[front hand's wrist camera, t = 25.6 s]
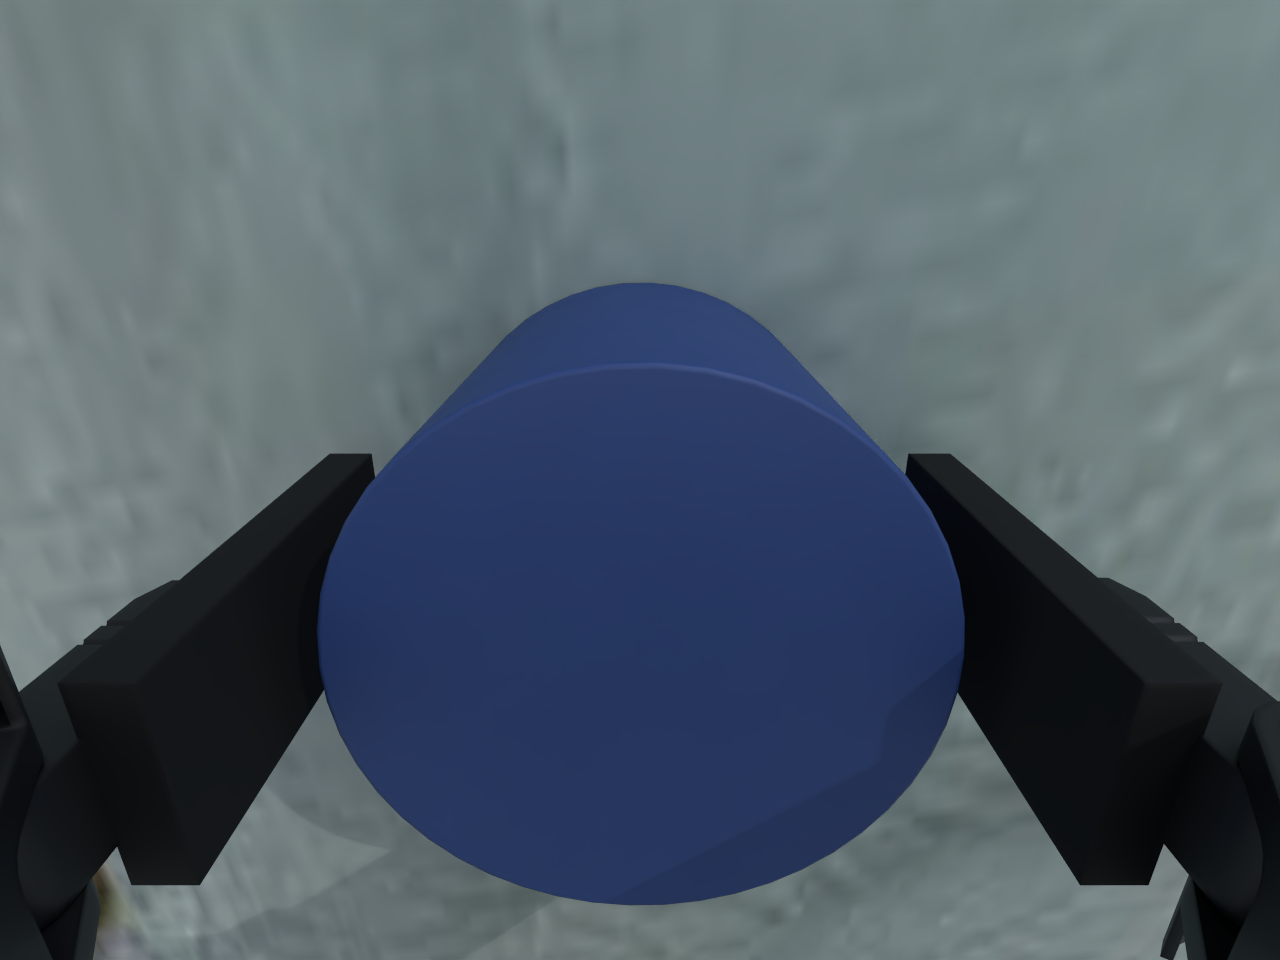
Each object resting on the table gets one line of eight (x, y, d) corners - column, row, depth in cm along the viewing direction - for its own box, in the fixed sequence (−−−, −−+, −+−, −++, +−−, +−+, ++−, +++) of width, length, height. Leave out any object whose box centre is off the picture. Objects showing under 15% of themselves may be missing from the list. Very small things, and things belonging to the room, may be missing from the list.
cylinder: (887, 352, 15) (1095, 487, 8) (747, 664, 18) (813, 955, 11) (504, 226, 14) (375, 258, 7) (422, 577, 17) (276, 836, 10)
